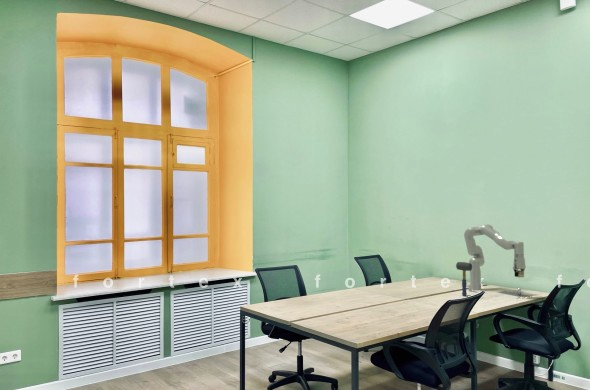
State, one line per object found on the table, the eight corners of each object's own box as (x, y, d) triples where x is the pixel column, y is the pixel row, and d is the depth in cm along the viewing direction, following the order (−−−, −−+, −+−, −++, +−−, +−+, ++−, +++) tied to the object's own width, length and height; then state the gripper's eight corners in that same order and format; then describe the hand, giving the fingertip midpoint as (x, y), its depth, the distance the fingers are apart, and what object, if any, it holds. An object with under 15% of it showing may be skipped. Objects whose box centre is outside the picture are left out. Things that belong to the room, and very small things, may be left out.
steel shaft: (517, 295, 393) (517, 287, 393) (519, 294, 394) (519, 287, 394) (519, 295, 391) (519, 288, 391) (521, 295, 392) (521, 288, 392)
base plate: (496, 293, 407) (496, 292, 407) (505, 292, 412) (505, 290, 412) (520, 298, 386) (520, 297, 386) (529, 297, 391) (529, 295, 391)
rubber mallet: (473, 296, 396) (472, 262, 396) (468, 297, 391) (468, 263, 391) (460, 294, 405) (459, 261, 406) (455, 295, 400) (455, 261, 401)
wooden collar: (512, 276, 395) (512, 270, 395) (517, 275, 398) (517, 270, 398) (520, 277, 388) (520, 271, 388) (525, 277, 391) (525, 271, 391)
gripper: (516, 256, 386) (516, 277, 386) (529, 255, 394) (529, 275, 394) (508, 255, 393) (508, 276, 392) (521, 254, 401) (521, 274, 400)
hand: (519, 275), depth 393 cm, fingers closed on wooden collar, 7 cm apart
